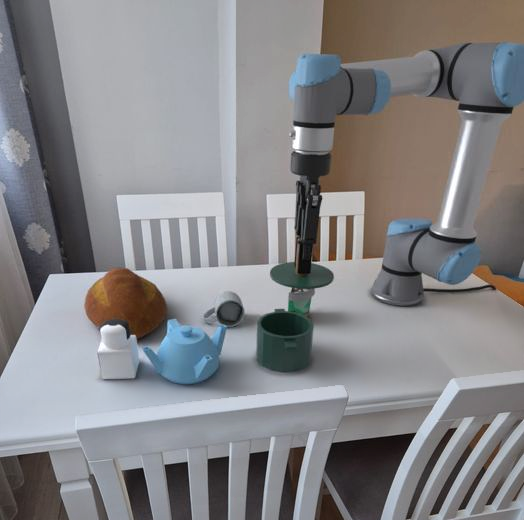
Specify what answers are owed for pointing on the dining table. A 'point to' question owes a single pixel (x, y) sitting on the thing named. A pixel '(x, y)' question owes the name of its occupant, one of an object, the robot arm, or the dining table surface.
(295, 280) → the canister lid
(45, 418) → the dining table surface
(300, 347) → the canister
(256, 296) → the dining table surface
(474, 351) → the dining table surface
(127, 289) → the bread
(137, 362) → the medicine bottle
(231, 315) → the ceramic mug
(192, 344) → the teapot
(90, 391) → the dining table surface
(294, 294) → the food container
